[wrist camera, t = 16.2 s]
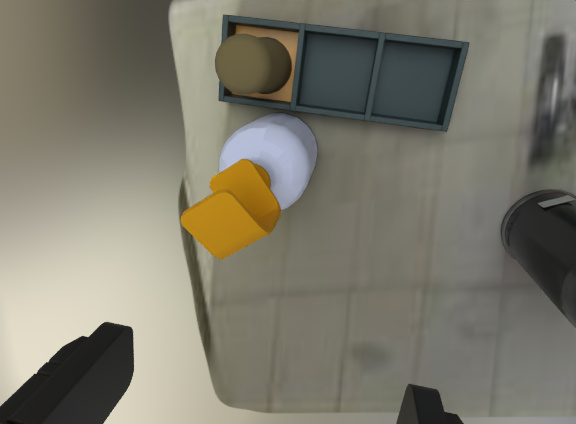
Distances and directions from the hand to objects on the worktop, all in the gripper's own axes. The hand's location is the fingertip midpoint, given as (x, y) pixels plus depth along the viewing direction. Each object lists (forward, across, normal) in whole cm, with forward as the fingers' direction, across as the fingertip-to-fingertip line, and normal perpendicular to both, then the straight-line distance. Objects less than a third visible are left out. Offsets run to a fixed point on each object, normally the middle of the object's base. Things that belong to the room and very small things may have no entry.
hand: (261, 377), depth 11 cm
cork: (+38, +8, -8) cm, 39 cm away
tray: (+38, 0, -8) cm, 39 cm away
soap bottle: (+38, +6, +2) cm, 39 cm away
